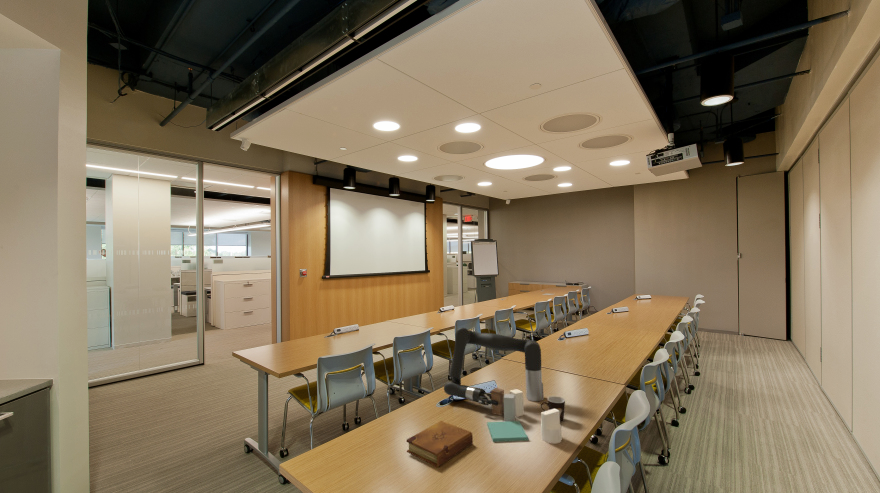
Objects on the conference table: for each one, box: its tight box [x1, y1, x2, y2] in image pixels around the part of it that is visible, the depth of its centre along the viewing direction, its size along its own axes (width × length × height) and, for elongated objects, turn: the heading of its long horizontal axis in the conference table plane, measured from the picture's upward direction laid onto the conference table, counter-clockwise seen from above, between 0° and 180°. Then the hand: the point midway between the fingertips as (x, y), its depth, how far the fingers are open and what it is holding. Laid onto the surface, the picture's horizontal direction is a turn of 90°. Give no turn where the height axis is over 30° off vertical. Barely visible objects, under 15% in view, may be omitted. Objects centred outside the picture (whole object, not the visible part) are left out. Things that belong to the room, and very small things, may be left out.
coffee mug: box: [540, 395, 566, 423], centre depth 179 cm, size 12×9×10 cm
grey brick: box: [503, 393, 516, 422], centre depth 179 cm, size 5×5×12 cm
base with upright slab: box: [540, 408, 563, 444], centre depth 159 cm, size 9×9×12 cm
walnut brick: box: [490, 387, 505, 416], centre depth 188 cm, size 5×5×12 cm
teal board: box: [486, 420, 529, 443], centre depth 166 cm, size 16×16×2 cm
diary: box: [406, 420, 474, 468], centre depth 154 cm, size 23×19×6 cm
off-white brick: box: [509, 388, 525, 418], centre depth 185 cm, size 5×5×12 cm
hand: (501, 401), depth 186 cm, fingers open, 7 cm apart
